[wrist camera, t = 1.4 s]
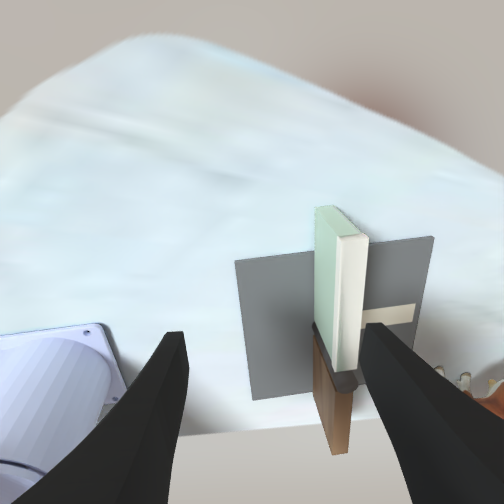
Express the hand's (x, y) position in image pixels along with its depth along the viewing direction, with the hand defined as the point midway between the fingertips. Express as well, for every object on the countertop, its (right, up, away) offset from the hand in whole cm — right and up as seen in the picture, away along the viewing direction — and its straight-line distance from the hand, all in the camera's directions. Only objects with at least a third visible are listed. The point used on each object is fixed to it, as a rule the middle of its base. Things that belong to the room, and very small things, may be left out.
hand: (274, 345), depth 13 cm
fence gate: (+4, +3, +9) cm, 11 cm away
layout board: (+5, -2, +13) cm, 14 cm away
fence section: (+5, -5, +14) cm, 15 cm away
